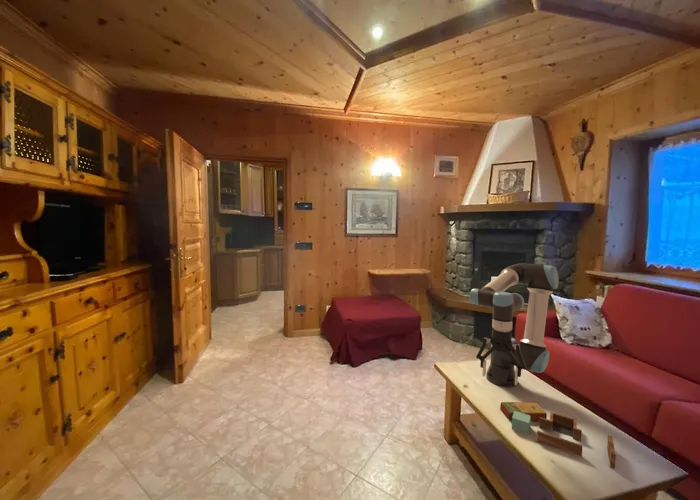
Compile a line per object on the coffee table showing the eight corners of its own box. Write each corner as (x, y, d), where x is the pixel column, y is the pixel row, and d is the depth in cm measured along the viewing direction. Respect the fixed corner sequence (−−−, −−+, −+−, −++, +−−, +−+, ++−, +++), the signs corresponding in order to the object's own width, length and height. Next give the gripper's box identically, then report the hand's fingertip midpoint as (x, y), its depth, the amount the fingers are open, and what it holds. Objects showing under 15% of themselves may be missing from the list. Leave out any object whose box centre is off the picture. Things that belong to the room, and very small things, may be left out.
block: (513, 421, 132) (514, 410, 132) (530, 427, 129) (530, 415, 128) (511, 429, 127) (512, 417, 127) (528, 435, 124) (529, 423, 123)
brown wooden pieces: (540, 417, 135) (541, 406, 134) (609, 439, 121) (610, 426, 121) (536, 441, 120) (537, 429, 119) (614, 469, 106) (615, 455, 106)
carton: (546, 422, 132) (547, 412, 132) (508, 421, 133) (509, 412, 132) (535, 410, 141) (535, 401, 140) (499, 410, 141) (500, 401, 141)
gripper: (469, 326, 134) (468, 374, 135) (534, 338, 120) (531, 391, 122) (474, 322, 140) (472, 368, 142) (535, 332, 126) (533, 383, 128)
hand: (499, 379), depth 132 cm, fingers open, 12 cm apart
